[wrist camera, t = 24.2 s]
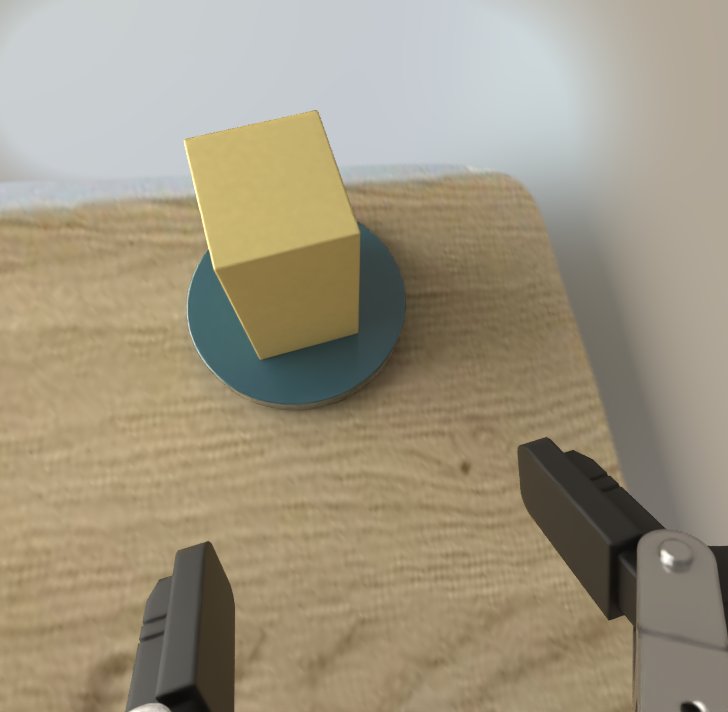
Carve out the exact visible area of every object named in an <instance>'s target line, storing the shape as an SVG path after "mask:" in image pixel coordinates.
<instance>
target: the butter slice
mask: <svg viewBox="0 0 728 712" xmlns="http://www.w3.org/2000/svg"><path fill="white" fill-rule="evenodd" d="M184 145H185V149H186V153H187V158H188V162H189V166H190V170H191V175H192V179H193V183H194V188H195V192H196V196H197V200H198V205H199V209H200V213H201V218H202V222H203V226H204V230H205V235H206V239H207V243H208V248H209V252H210V256H211V260H212V265H213V269H214V271H215V273H216V275H217V277H218V279H219V281H220V283H221V285H222V287H223V289H224V290H225V292H226V294H227V296H228V298H229V300H230V302H231V304H232V306H233V308H234V310H235V312H236V314H237V316H238V318H239V320H240V322H241V324H242V326H243V328H244V329H245V331H246V333H247V335H248V337H249V339H250V341H251V343H252V345H253V347H254V349H255V351H256V353H257V355H258V357H259V359H260V360H262V359H266V358H269V357H273V356H277V355H280V354H284V353H288V352H291V351H295V350H299V349H302V348H306V347H310V346H313V345H317V344H321V343H324V342H328V341H331V340H335V339H339V338H342V337H346V336H350V335H353V334H357V333H358V324H359V274H360V230H359V227H358V224H357V221H356V218H355V215H354V213H353V210H352V207H351V204H350V201H349V198H348V195H347V193H346V190H345V187H344V184H343V181H342V178H341V175H340V173H339V170H338V167H337V164H336V161H335V158H334V155H333V153H332V150H331V147H330V144H329V141H328V138H327V135H326V132H325V130H324V127H323V124H322V121H321V118H320V116H319V112H318V111H317V110H314V111H310V112H305V113H300V114H296V115H291V116H287V117H282V118H278V119H274V120H269V121H264V122H260V123H255V124H251V125H246V126H242V127H237V128H232V129H228V130H224V131H219V132H214V133H210V134H205V135H201V136H196V137H192V138H187V139H184Z"/></svg>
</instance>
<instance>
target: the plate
mask: <svg viewBox="0 0 728 712" xmlns="http://www.w3.org/2000/svg"><path fill="white" fill-rule="evenodd" d="M357 224H358V227H359V230H360V274H359V324H358V333H357V334H353V335H350V336H346V337H342V338H339V339H335V340H331V341H328V342H324V343H321V344H317V345H313V346H310V347H306V348H302V349H299V350H295V351H291V352H288V353H284V354H280V355H277V356H273V357H269V358H266V359H262V360H260V359H259V357H258V355H257V353H256V351H255V349H254V347H253V345H252V343H251V341H250V339H249V337H248V335H247V333H246V331H245V329H244V328H243V326H242V324H241V322H240V320H239V318H238V316H237V314H236V312H235V310H234V308H233V306H232V304H231V302H230V300H229V298H228V296H227V294H226V292H225V290H224V289H223V287H222V285H221V283H220V281H219V279H218V277H217V275H216V273H215V271H214V269H213V265H212V260H211V256H210V252H209V249H208V251H207V252H206V253H205V254H204V256H203V258H202V259H201V261H200V263H199V264H198V266H197V268H196V270H195V273H194V275H193V277H192V280H191V284H190V287H189V291H188V298H187V321H188V327H189V332H190V335H191V338H192V341H193V344H194V346H195V348H196V350H197V352H198V354H199V356H200V357H201V359H202V360H203V361H204V363H205V364H206V366H207V367H208V368H209V369H210V371H211V372H212V373H213V374H214V375H215V376H216V377H217V378H218V379H219V380H220V382H222V383H223V384H224V385H225V386H227V387H228V388H229V389H230V390H232V391H233V392H235V393H236V394H238V395H240V396H242V397H243V398H245V399H248V400H250V401H252V402H255V403H257V404H261V405H264V406H268V407H272V408H279V409H291V410H302V409H310V408H317V407H321V406H325V405H329V404H332V403H335V402H337V401H340V400H342V399H345V398H346V397H348V396H350V395H352V394H354V393H356V392H357V391H359V390H360V389H361V388H363V387H364V386H365V385H367V384H368V383H369V382H370V381H371V380H372V379H373V378H375V377H376V376H377V375H378V374H379V373H380V371H381V370H382V369H383V368H384V366H385V365H386V364H387V362H388V361H389V359H390V357H391V356H392V354H393V352H394V351H395V348H396V346H397V344H398V341H399V339H400V335H401V331H402V327H403V323H404V318H405V309H406V295H405V288H404V282H403V279H402V276H401V273H400V270H399V267H398V265H397V263H396V261H395V259H394V257H393V256H392V254H391V253H390V251H389V250H388V248H387V247H386V246H385V245H384V244H383V243H382V241H381V240H380V239H379V238H378V237H377V236H376V235H375V234H373V233H372V232H371V231H370V230H369V229H367V228H366V227H365V226H363V225H362V224H360V223H359V222H357Z"/></svg>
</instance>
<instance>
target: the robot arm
mask: <svg viewBox="0 0 728 712" xmlns="http://www.w3.org/2000/svg"><path fill="white" fill-rule="evenodd" d="M517 452H518V465H519V477H520V489H521V495H522V499H523V502H524V504H525V506H526V508H527V510H528V512H529V514H530V515H531V517H532V518H533V519H534V521H535V522H536V523H537V525H538V526H539V527H540V529H541V530H542V531H543V533H544V534H545V536H546V537H547V538H548V540H549V541H550V542H551V544H552V545H553V546H554V548H555V549H556V550H557V552H558V553H559V554H560V556H561V557H562V558H563V560H564V561H565V562H566V564H567V565H568V566H569V568H570V569H571V570H572V572H573V573H574V575H575V576H576V577H577V579H578V580H579V581H580V583H581V584H582V585H583V587H584V588H585V589H586V591H587V592H588V593H589V595H590V596H591V597H592V599H593V600H594V601H595V603H596V604H597V605H598V607H599V608H600V610H601V611H602V612H603V614H604V615H605V616H606V618H607V619H608V620H612V619H615V618H618V617H620V616H623V615H625V616H626V617H627V618H628V620H629V621H630V622H631V623H632V625H633V681H632V712H728V546H706V545H705V544H704V543H703V542H702V541H700V540H699V539H697V538H695V537H694V536H692V535H689V534H687V533H684V532H681V531H677V530H668V529H665V528H664V527H663V526H662V525H661V524H660V523H659V522H658V521H657V520H656V519H655V518H654V517H653V516H652V515H651V514H650V513H649V512H647V510H645V509H644V508H643V507H642V506H641V505H640V504H639V503H638V502H637V501H636V500H635V499H634V498H633V497H632V496H631V495H630V494H629V493H628V492H627V491H625V490H624V489H623V488H622V487H620V486H619V484H618V483H617V482H616V481H615V480H614V479H613V478H612V477H611V476H608V475H607V472H606V471H604V470H603V469H602V468H601V467H600V466H599V465H598V464H597V463H596V462H595V461H594V460H593V459H591V458H589V457H587V456H585V455H582V454H580V453H578V452H576V451H574V450H572V451H569V452H566V453H563V452H562V451H561V449H560V448H559V447H558V446H557V445H556V444H555V443H554V442H553V441H552V440H551V439H549V438H547V437H545V438H542V439H538V440H535V441H532V442H529V443H526V444H522V445H520V446H519V447H518V451H517ZM139 640H140V643H139V644H138V649H137V654H136V659H135V664H134V670H133V675H132V680H131V685H130V690H129V695H128V701H127V706H126V710H125V712H234V673H235V604H234V597H233V593H232V589H231V586H230V583H229V581H228V578H227V576H226V574H225V572H224V570H223V567H222V565H221V563H220V561H219V559H218V556H217V554H216V552H215V550H214V548H213V546H212V544H211V543H210V542H209V541H207V542H204V543H201V544H197V545H194V546H191V547H188V548H185V549H181V550H178V551H177V553H176V557H175V563H174V570H173V576H170V577H166V578H163V579H160V580H159V581H158V583H157V584H156V586H155V588H154V589H153V591H152V593H151V594H150V596H149V598H148V600H147V602H146V607H145V612H144V618H143V626H142V628H141V633H140V638H139Z"/></svg>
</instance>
